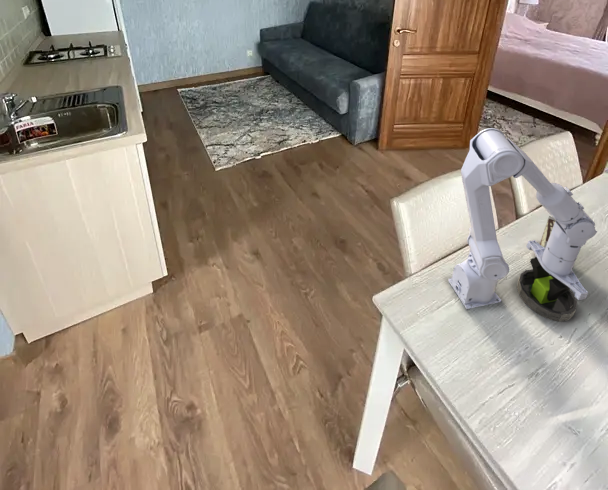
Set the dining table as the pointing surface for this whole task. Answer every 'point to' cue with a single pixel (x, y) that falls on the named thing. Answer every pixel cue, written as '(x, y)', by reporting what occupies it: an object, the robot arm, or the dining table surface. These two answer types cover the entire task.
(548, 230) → the food container
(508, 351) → the dining table surface
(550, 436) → the dining table surface
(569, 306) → the bowl
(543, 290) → the green block
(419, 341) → the dining table surface
